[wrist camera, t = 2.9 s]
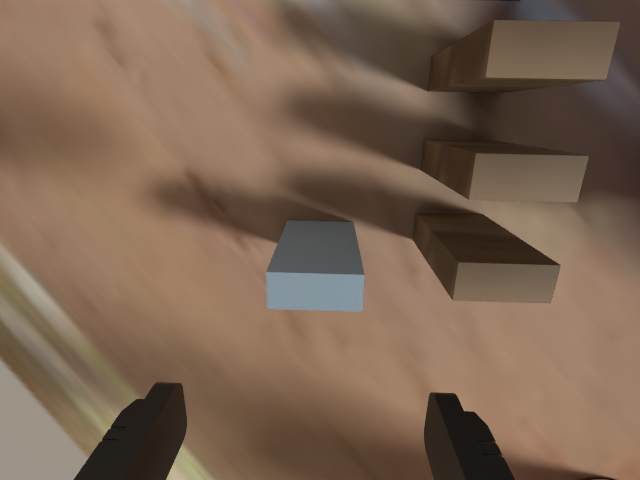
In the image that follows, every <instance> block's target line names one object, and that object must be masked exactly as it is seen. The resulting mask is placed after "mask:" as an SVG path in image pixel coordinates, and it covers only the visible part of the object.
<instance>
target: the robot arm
mask: <svg viewBox="0 0 640 480" xmlns="http://www.w3.org/2000/svg"><path fill="white" fill-rule="evenodd" d="M186 428H187V416H186V408H185V401H184V393H183V387H182V384H181V383H163V382H157V383H155V384H154V386H153V387H152V389H151V390H150V392H149V393H148V395H147V396H146V398H145V399H136V400H135V401H134V402H132V403H131V404H130V405H129V406H127V407H126V408H125V409H124V410H123V411H121V413H120V414H119V416H118V417H117V418H116V420H115V421H114V423H113V424H112V426H111V429H109V430H108V431H107V433H106V434H105V436H104V437H103V438H102V442H100V443H99V444H98V446H97V447H96V448H95V450H94V451H93V453H92V454H91V456H90V457H89V458H88V460H87V461H86V463H85V464H84V466H83V467H82V468H81V470H80V472H79V473H78V474H77V476H76V477H75V479H74V480H166V478H167V476H168V474H169V472H170V469H171V467H172V465H173V463H174V460H175V458H176V456H177V454H178V452H179V449H180V447H181V445H182V443H183V440H184V437H185V433H186ZM424 442H425V448H426V453H427V456H428V460H429V463H430V467H431V470H432V474H433V477H434V480H515V479H514V477H513V475H512V473H511V471H510V469H509V467H508V465H507V463H506V461H505V459H504V458H503V457H502V453H501V451H500V449H499V447H498V445H497V444H496V443H495V439H494V437H493V435H492V433H491V432H490V430H489V428H488V426H487V425H486V423H485V422H484V421H483V420H482V419H481V418H480V417H479V416H478V415H477V414H476V413H475V412H468V411H464V410H463V408H462V406H461V404H460V401H459V399H458V397H457V395H456V394H454V393H430V395H429V400H428V407H427V413H426V420H425V427H424ZM592 480H608V479H592Z"/></svg>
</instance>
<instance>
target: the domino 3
mask: <svg viewBox="0 0 640 480" xmlns="http://www.w3.org/2000/svg"><path fill="white" fill-rule="evenodd" d="M588 159H589V156H586V155H580V154H574V153H567V152H561V151H555V150H549V149H542V148H536V147H530V146H524V145H517V144H511V143H505V142H499V141H466V140H424V145H423V155H422V164H421V171H423V172H425V173H426V174H428V175H430V176H431V177H433V178H434V179H436V180H438V181H439V182H441V183H443V184H444V185H446V186H447V187H449V188H451V189H452V190H454V191H456V192H457V193H459V194H460V195H462V196H464V197H465V198H467V199H469V200H500V201H540V202H578V198H579V194H580V190H581V186H582V182H583V178H584V174H585V170H586V166H587V162H588Z"/></svg>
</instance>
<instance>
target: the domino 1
mask: <svg viewBox="0 0 640 480" xmlns="http://www.w3.org/2000/svg"><path fill="white" fill-rule="evenodd" d="M364 276H365V275H364V270H363V265H362V261H361V256H360V251H359V246H358V242H357V237H356V232H355V227H354V223H353V222H337V221H299V220H287V222H286V225H285V227H284V230H283V232H282V235H281V237H280V240H279V242H278V244H277V247H276V249H275V252H274V254H273V257H272V259H271V262H270V264H269V266H268V269H267V271H266V282H267V309H291V310H323V311H355V312H362V306H363V291H364Z"/></svg>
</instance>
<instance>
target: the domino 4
mask: <svg viewBox="0 0 640 480" xmlns="http://www.w3.org/2000/svg"><path fill="white" fill-rule="evenodd" d="M413 241H414V242H415V244H416V245H417V247H418V248H419V250H420V251H421V253H422V254H423V256H424V257H425V259H426V261H427V262H428V264H429V265H430V267H431V268H432V270H433V271H434V273H435V274H436V276H437V277H438V279H439V280H440V282H441V283H442V285H443V286H444V288H445V289H446V291H447V293H448V294H449V296H450V297H451V299H452V300H453V301H486V302H519V303H551V301H552V297H553V293H554V290H555V286H556V282H557V278H558V274H559V270H560V266H561V265H559V264H558V263H556V262H555V261H553V260H552V259H550V258H549V257H547V256H546V255H544V254H543V253H541V252H539V251H538V250H536V249H535V248H533V247H532V246H530V245H529V244H527V243H526V242H524V241H523V240H521V239H520V238H518V237H517V236H515V235H514V234H512V233H510V232H509V231H507V230H506V229H504V228H503V227H501V226H500V225H498V224H497V223H495V222H494V221H492V220H491V219H489V218H488V217H486V216H485V215H475V214H436V213H416V216H415V225H414V234H413Z"/></svg>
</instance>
